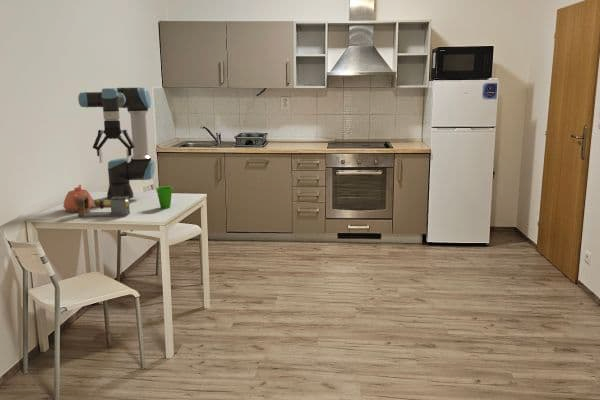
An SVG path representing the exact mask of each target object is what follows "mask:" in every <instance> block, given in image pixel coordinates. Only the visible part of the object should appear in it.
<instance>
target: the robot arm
mask: <svg viewBox="0 0 600 400" xmlns="http://www.w3.org/2000/svg"><path fill="white" fill-rule="evenodd" d="M77 101H78V104H79V106H80V107H81V108H102V114H103V120H104V121H103V126H104V130H102V129H98V130H97V136H96V139H95V140H94V143H93V146H92V149H95V150H96V155H97V157H99V164H102V163H104V159H103V149H102V147H103V146H104V145H105V143H106V142H107V141H108V140H113V139H114V140H119V142H120V143H122V145H123V146H124V147H125V148H126V149H125V150H126V151H125V152H126V157H121V158H116V159H111V160H109V161H108V162H107V174H108V190H107V193H106V198H107V200H110V199H111V198H112V197H114V196H129V199H132V198H134V191H133V189H132V187H131V182H130V181H148V180H149V181H150V180H152V179H153V177H154V174H155V167H156V166H155V160H152V157H151V156H150V155H149V148H148V147H149V145H148V131H147V128H148V127H147V113H148V112H149V109H151V106H152V100H151V96H150V92H149V90H148V89H147V88H145V87H117V88H102V89H101V91H92V92H90V91H88V92H87V91H85V92H84V91H83V92H80V93H79V94H78V96H77ZM120 109H126V111H127V112H128V113H129V115H130V127H131V129H130V130H131V137H130V135H129V133H128V130H127V129H121V120H120V119H121V118H120ZM103 134H104V135H105V136H104V137H103V139H102V140H101V138H102V135H103ZM122 135H123V136H124V137H125V139H124V138H123V136H122ZM100 140H101V141H100ZM99 142H100V143H99Z"/></svg>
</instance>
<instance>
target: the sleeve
mask: <svg viewBox="0 0 600 400" xmlns="http://www.w3.org/2000/svg"><path fill="white" fill-rule="evenodd" d="M109 200H110V202H111V208H110V212H111V215H127V214H128V215H127V216H129V215H130V214H131V210H130V206H129V207H127V208H126V200H129V201H130V198H129V196H114V197H112V198H111V199H109Z"/></svg>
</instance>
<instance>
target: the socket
mask: <svg viewBox="0 0 600 400" xmlns="http://www.w3.org/2000/svg"><path fill="white" fill-rule="evenodd" d="M77 205H78V212H77V214H78V218H86V217H85V215H86V214H88V213H89V212H91V209H89V197H88V195H82V196H80V197H78V198H77ZM82 216H83V217H82Z"/></svg>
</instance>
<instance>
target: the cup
mask: <svg viewBox="0 0 600 400" xmlns="http://www.w3.org/2000/svg"><path fill="white" fill-rule="evenodd" d="M173 188H174V187H173V186H158V187H156V188H155V190H156V193H157V197H158V200H159V202H158V203H159V205H160V206H159V207H160V209H165V210H166V209H170V208H171V203H172V195H173V194H172V193H173Z"/></svg>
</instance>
